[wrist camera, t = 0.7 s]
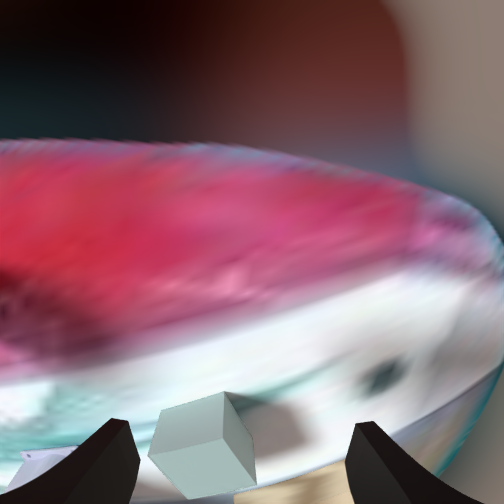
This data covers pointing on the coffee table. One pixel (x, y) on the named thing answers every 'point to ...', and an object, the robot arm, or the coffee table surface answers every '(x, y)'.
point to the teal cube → (204, 448)
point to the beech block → (304, 489)
